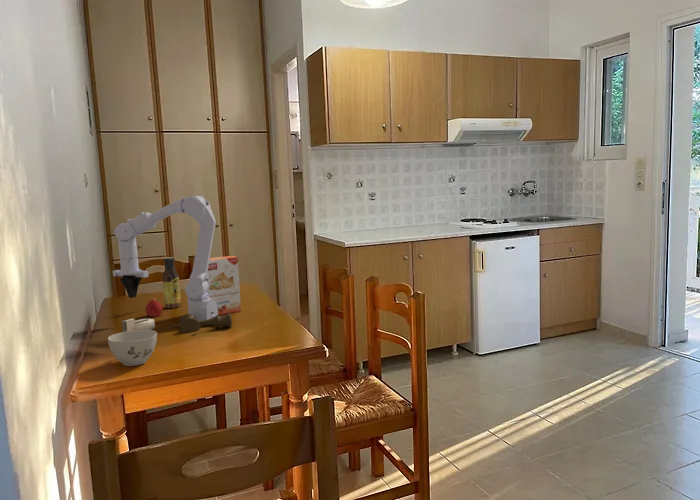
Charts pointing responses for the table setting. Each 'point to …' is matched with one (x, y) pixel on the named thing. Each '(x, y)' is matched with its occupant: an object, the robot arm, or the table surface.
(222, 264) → the cracker box
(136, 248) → the robot arm
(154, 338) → the white floral bowl
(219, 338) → the table surface
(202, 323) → the kendama
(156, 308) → the onion
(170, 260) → the sauce bottle
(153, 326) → the miniature toilet
